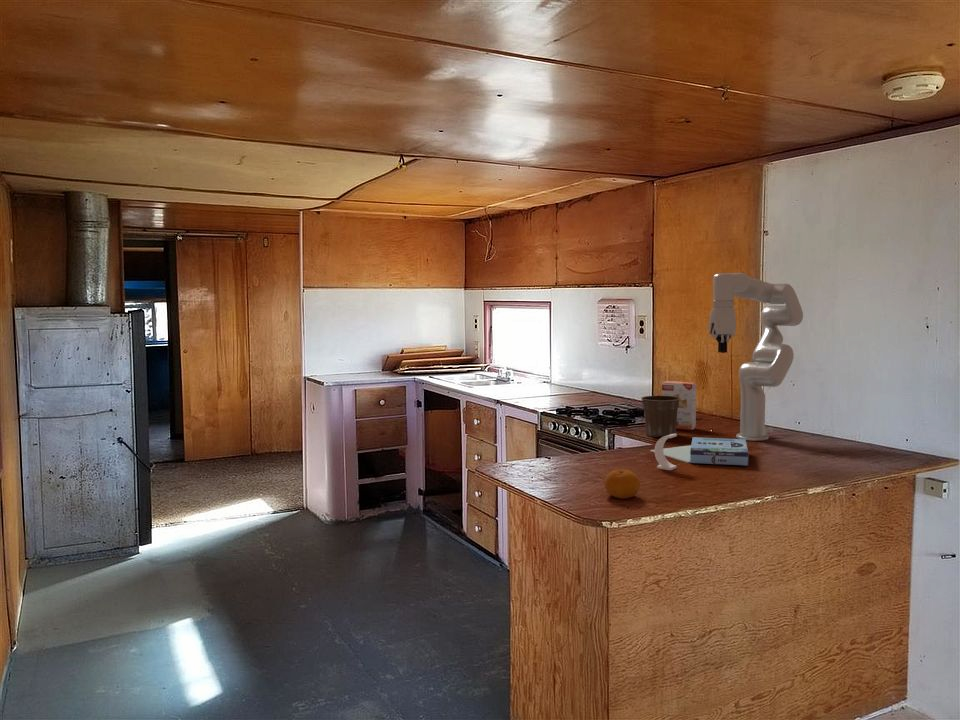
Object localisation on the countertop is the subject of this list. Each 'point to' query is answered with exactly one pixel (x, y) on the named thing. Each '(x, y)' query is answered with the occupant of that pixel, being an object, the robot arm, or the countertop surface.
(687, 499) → the countertop surface
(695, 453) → the gum box
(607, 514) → the countertop surface
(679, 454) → the mat
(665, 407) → the plant pot
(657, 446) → the headphone stand
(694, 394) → the cracker box
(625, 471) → the fruit
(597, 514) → the countertop surface
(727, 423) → the countertop surface
